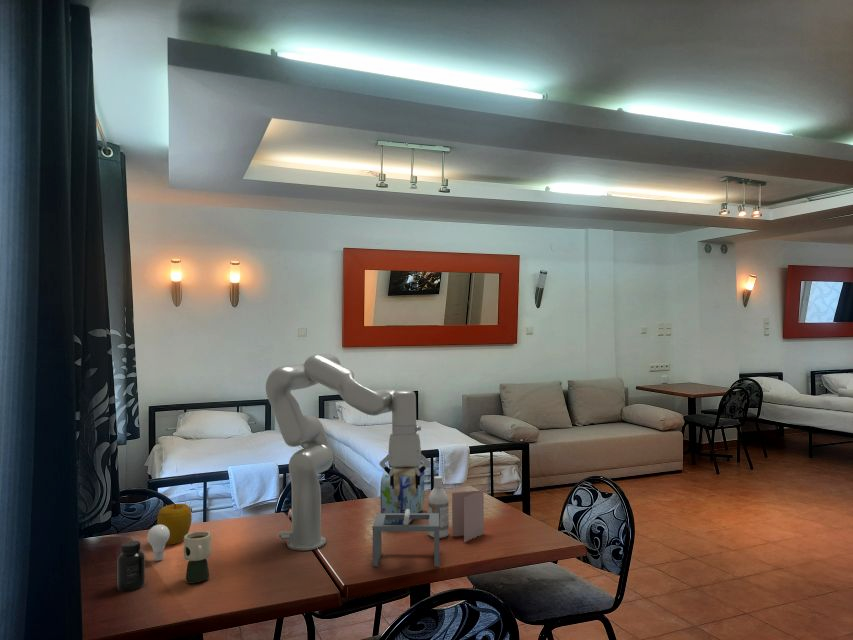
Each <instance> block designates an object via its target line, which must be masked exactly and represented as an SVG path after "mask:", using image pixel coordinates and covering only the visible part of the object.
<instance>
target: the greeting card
mask: <svg viewBox="0 0 853 640" xmlns="http://www.w3.org/2000/svg"><path fill="white" fill-rule="evenodd" d="M484 497H485V496H484V490H473V491H471V490H470V491H460V492H459V491H458V492H452V493H451V503H452V505H451V507H452V508H451V511H452V512H451V513H452V519H451V522H452V523H451V525H452V527H451V529H452V530H451V531H452V537H453V536H455V537H461V536H460V535H464V536H463V543H464V542H465V543H467V542H468V540H469V541H471V540H473V539H475V538H478V537H480V536H482V535H484V533H485V532H484V530H485V528H484V527H485V525H484V524H485V523H484V522H485V521H484V520H485V519H484V515H485V513H484V512H485V511H484V509H485V508H484V507H485V506H484V504H485V503H484V500H485V499H484ZM477 536H478V537H477ZM472 538H473V539H472ZM470 539H471V540H470ZM466 541H467V542H466Z"/></svg>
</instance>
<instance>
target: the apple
mask: <svg viewBox="0 0 853 640" xmlns="http://www.w3.org/2000/svg"><path fill="white" fill-rule="evenodd" d="M156 518H157V521H156V525H160V524H161V525H165V526H166V527H167V528H168V529H169V531H170V536H169V539H168V541H167V542H166V544H165V545H166V546H171V545H175V544H179V543H181V542H184V536H185V535H186V534H189V531H190V528H191V524H192V519H193V518H192V510H191V507H190V506H189V505H188V504H186V503H172V504H168V505H164V506H163V507H161V508H160V509H159V510H158V513H157V517H156Z"/></svg>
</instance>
